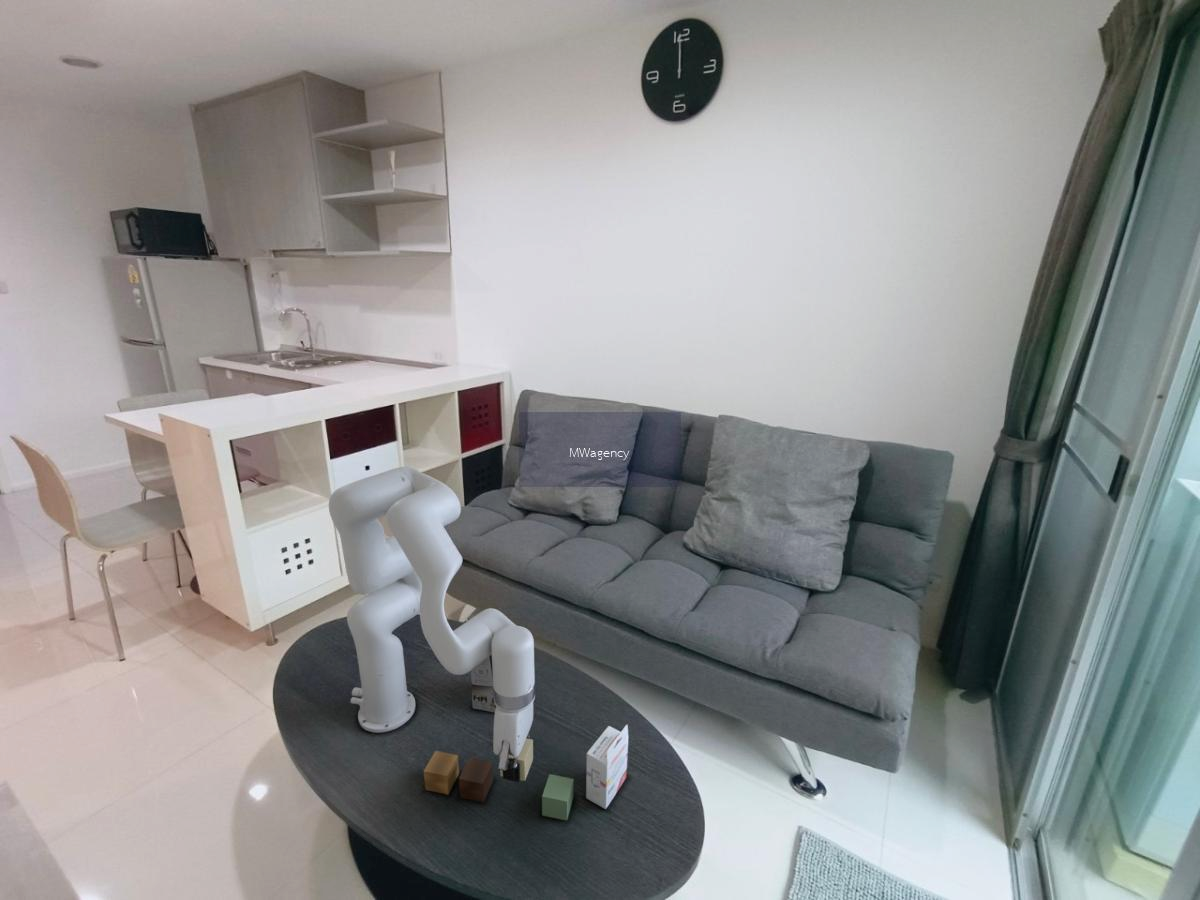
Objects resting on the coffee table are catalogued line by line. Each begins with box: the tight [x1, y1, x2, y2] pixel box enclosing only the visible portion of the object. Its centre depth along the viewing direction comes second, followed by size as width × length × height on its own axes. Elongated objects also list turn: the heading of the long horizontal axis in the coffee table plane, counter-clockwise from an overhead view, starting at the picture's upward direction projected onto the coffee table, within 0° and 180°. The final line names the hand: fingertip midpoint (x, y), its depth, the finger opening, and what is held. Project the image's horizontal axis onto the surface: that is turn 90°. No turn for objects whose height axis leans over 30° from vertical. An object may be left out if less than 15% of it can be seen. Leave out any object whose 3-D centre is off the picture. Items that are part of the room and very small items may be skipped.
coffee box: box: [470, 655, 496, 713], centre depth 132 cm, size 9×6×16 cm
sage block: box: [541, 773, 575, 822], centre depth 107 cm, size 5×5×5 cm
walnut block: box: [458, 757, 494, 803], centre depth 110 cm, size 5×5×5 cm
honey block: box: [423, 750, 460, 796], centre depth 112 cm, size 5×5×5 cm
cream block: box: [498, 738, 534, 782], centre depth 106 cm, size 5×5×5 cm
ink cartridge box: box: [585, 724, 630, 810], centre depth 110 cm, size 9×5×15 cm, turn 148°
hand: (516, 765), depth 107 cm, fingers closed on cream block, 5 cm apart
